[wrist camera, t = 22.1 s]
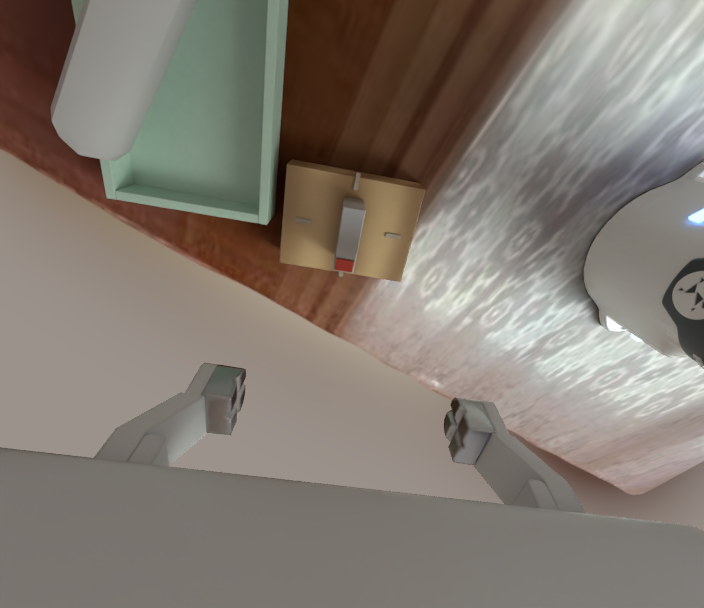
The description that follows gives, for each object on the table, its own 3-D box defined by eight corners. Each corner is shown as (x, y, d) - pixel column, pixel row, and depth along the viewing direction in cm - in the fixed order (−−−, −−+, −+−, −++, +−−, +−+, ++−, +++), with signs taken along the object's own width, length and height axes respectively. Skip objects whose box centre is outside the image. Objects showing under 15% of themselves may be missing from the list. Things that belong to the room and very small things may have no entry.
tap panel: (420, 179, 32) (427, 185, 29) (396, 272, 37) (399, 285, 34) (292, 154, 31) (286, 159, 28) (284, 254, 36) (278, 266, 33)
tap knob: (343, 196, 30) (343, 207, 26) (364, 199, 30) (366, 211, 26) (334, 254, 32) (332, 271, 29) (353, 257, 33) (353, 274, 29)
